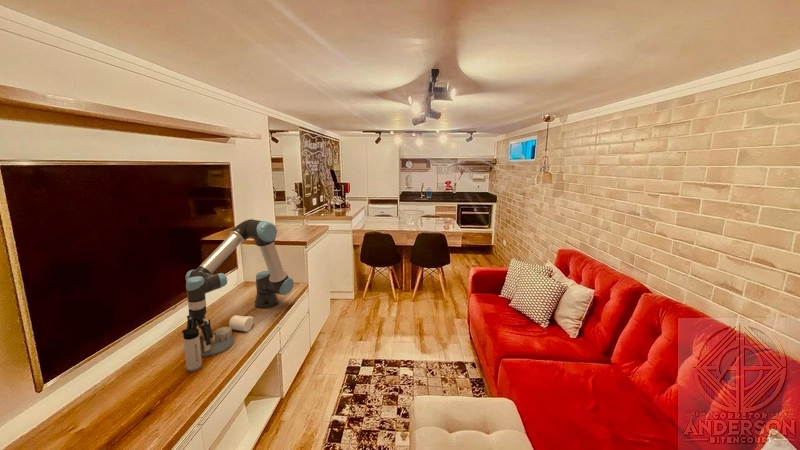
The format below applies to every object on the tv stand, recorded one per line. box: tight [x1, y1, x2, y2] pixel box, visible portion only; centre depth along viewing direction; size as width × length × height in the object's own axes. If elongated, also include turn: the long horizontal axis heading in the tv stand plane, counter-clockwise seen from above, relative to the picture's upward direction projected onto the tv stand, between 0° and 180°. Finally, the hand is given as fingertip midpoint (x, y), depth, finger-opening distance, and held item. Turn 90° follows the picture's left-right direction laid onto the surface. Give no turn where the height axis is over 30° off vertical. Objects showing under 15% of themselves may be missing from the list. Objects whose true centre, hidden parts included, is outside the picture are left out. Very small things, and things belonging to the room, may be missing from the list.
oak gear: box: [199, 334, 211, 354], centre depth 165 cm, size 8×8×6 cm
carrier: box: [201, 326, 235, 358], centre depth 172 cm, size 21×20×6 cm
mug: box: [228, 314, 254, 333], centre depth 190 cm, size 12×10×8 cm
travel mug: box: [181, 327, 203, 372], centre depth 152 cm, size 6×7×20 cm
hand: (201, 347), depth 165 cm, fingers open, 9 cm apart
